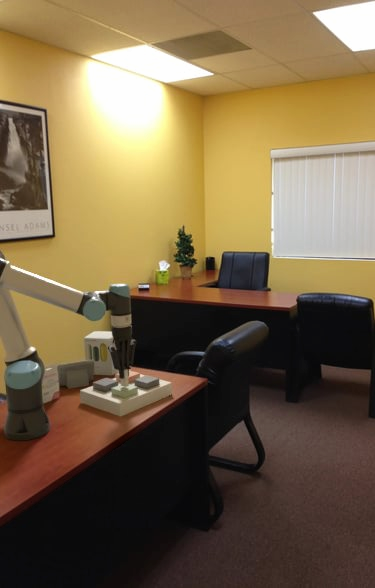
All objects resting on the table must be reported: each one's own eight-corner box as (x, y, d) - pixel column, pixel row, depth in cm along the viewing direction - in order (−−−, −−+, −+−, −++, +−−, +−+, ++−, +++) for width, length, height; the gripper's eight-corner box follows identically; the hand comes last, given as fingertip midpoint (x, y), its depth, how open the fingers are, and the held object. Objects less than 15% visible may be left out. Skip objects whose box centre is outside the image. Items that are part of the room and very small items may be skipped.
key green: (124, 404, 193) (124, 392, 192) (112, 400, 197) (111, 388, 197) (138, 399, 198) (137, 386, 197) (125, 395, 203) (125, 383, 202)
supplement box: (85, 374, 237) (83, 337, 234) (96, 365, 250) (94, 330, 247) (112, 375, 234) (110, 338, 231) (122, 367, 247) (120, 331, 244)
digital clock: (94, 379, 230) (93, 356, 228) (96, 386, 221) (94, 362, 220) (57, 383, 226) (55, 359, 225) (57, 390, 218) (55, 366, 216)
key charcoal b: (147, 395, 202) (146, 383, 201) (134, 391, 206) (134, 379, 206) (159, 390, 207) (159, 378, 206) (147, 386, 212) (146, 375, 211)
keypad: (120, 416, 188) (119, 403, 188) (80, 402, 203) (80, 390, 202) (172, 394, 209) (171, 382, 208) (132, 383, 224) (132, 371, 223)
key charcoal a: (105, 398, 200) (104, 386, 199) (93, 394, 204) (92, 382, 204) (118, 393, 205) (118, 381, 204) (107, 389, 210) (106, 377, 209)
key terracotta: (128, 389, 209) (127, 377, 208) (116, 386, 213) (115, 374, 213) (140, 384, 214) (139, 373, 213) (128, 381, 219) (128, 370, 218)
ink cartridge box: (52, 395, 212) (49, 360, 210) (60, 397, 209) (57, 362, 207) (34, 401, 205) (32, 365, 203) (42, 404, 202) (40, 368, 200)
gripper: (115, 330, 186) (118, 392, 190) (141, 323, 195) (143, 383, 199) (101, 327, 190) (105, 388, 194) (127, 320, 200) (130, 379, 204)
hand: (124, 385), depth 197 cm, fingers closed
